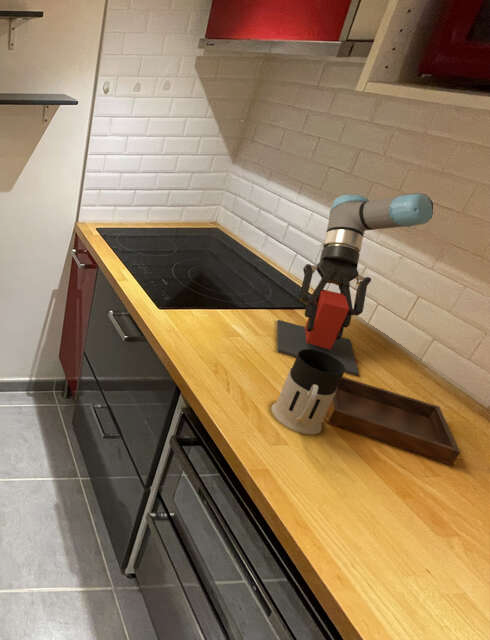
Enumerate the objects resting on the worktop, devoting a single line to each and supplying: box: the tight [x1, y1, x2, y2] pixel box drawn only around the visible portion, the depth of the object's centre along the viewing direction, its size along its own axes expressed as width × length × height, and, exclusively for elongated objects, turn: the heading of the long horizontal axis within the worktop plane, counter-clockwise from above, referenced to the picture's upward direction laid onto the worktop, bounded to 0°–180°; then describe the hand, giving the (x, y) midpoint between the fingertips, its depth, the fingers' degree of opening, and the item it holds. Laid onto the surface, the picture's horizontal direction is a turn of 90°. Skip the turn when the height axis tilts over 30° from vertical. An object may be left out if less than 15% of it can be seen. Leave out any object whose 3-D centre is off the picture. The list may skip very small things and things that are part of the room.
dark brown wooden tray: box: [326, 376, 461, 467], centre depth 93 cm, size 19×14×4 cm
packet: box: [304, 289, 349, 350], centre depth 112 cm, size 5×8×12 cm, turn 147°
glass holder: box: [270, 349, 346, 435], centre depth 89 cm, size 9×14×15 cm, turn 140°
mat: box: [276, 319, 359, 377], centre depth 116 cm, size 16×16×1 cm
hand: (323, 333), depth 110 cm, fingers closed on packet, 5 cm apart
